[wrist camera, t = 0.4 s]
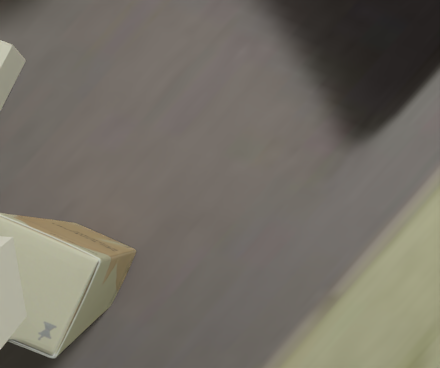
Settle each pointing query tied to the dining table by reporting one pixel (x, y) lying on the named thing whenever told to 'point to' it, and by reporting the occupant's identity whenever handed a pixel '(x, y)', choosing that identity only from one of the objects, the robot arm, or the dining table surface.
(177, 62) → the dining table surface
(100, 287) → the box
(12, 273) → the robot arm
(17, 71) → the tray
